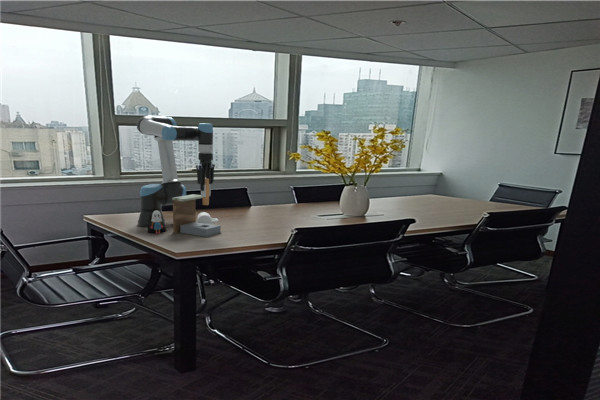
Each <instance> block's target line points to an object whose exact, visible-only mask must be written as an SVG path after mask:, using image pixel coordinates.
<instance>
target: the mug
mask: <svg viewBox="0 0 600 400" xmlns="http://www.w3.org/2000/svg"><path fill="white" fill-rule="evenodd" d="M196 222H200V223H207V224H213V223H218V222H219V219H218V218H216V217H215V218H214V217H211V215H210V213H208V212H204V211H201V212H200V213H198V214H197V217H196Z"/></svg>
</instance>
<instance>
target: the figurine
mask: <svg viewBox="0 0 600 400" xmlns="http://www.w3.org/2000/svg"><path fill="white" fill-rule="evenodd" d="M151 221H153V222H152V226H151V227H147V234H151V235H161V234H165V233H166V232H167V227H166V226H164V225H162V224H161V221H162V219H161V213H160V212H159V211H157V210H156V211H154V212H153V214H152V220H151ZM154 222H156V223H155V225H154V226H153V224H154Z"/></svg>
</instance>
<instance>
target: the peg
mask: <svg viewBox="0 0 600 400" xmlns="http://www.w3.org/2000/svg"><path fill="white" fill-rule="evenodd" d="M205 185H206V197H203V198H202V205H203V206H209V204H210V196H209V179H207V178H206V177H205Z"/></svg>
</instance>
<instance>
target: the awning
mask: <svg viewBox="0 0 600 400" xmlns="http://www.w3.org/2000/svg"><path fill="white" fill-rule="evenodd" d="M198 199H203V197H201V194H193V193H192V194H188V195H187V194H186V196H180V197H174V198H172V200H173V205H172V219H173V220H172V223H173V224H172V227H173V228H172V229H173V230H172V232H173V233H175V234H178V233H180V225H184V224H188V223H192V222H197V217H196V200H198Z"/></svg>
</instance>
